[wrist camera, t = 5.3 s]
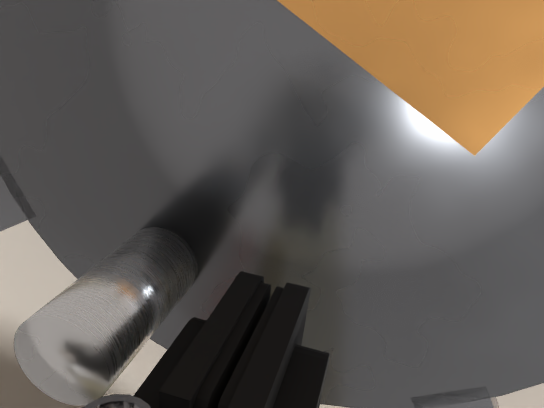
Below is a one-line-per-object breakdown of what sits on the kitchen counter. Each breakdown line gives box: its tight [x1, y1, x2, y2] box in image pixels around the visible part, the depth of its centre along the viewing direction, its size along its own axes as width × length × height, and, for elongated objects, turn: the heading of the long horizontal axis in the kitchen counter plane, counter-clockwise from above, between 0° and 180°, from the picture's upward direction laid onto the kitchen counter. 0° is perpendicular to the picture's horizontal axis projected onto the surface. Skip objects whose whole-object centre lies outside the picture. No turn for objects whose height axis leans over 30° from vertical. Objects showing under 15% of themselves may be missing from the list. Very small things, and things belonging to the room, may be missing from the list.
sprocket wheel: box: [0, 0, 544, 408], centre depth 8 cm, size 20×20×5 cm
